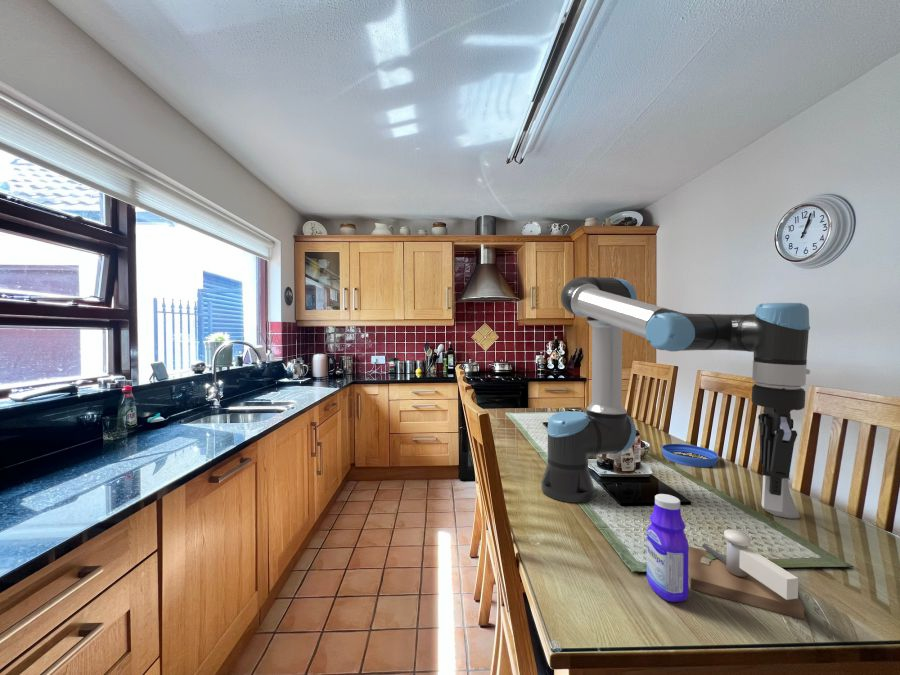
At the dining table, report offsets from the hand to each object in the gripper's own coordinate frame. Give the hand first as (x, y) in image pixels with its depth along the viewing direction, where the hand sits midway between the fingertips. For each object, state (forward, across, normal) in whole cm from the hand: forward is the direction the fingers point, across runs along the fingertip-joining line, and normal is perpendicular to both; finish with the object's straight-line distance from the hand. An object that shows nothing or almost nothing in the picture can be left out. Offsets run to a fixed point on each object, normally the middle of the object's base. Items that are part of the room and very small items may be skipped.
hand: (771, 508), depth 71 cm
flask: (+15, +37, -12) cm, 42 cm away
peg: (+12, -4, +5) cm, 14 cm away
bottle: (+15, -12, +17) cm, 26 cm away
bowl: (+17, +75, +6) cm, 77 cm away
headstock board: (+15, -3, +5) cm, 16 cm away
